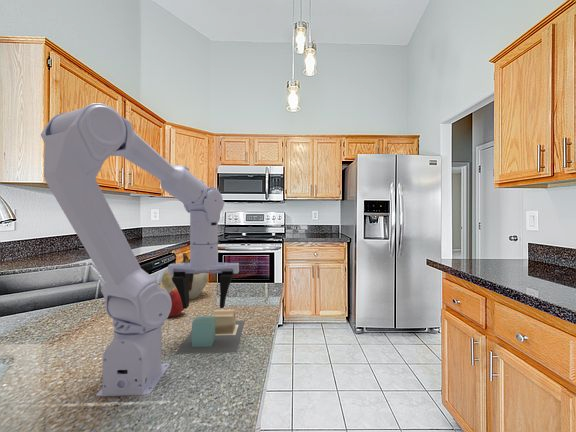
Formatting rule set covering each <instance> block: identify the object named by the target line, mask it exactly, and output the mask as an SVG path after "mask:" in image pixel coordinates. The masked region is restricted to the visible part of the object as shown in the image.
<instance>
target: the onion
mask: <svg viewBox="0 0 576 432" xmlns="http://www.w3.org/2000/svg"><path fill="white" fill-rule="evenodd" d="M169 295H170V297H171V301H172V306H171V311H170V314H169V316H168V317H171V318H172V317H173V318H175V317H178V316H179V315H180V314H182V312H183V311H184V310H185V309H183V305H182V301H181V298H180V295H179V292H178V291H177V288H173V290H172V291H171V292H170V293H169Z"/></svg>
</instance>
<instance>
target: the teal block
mask: <svg viewBox="0 0 576 432" xmlns="http://www.w3.org/2000/svg"><path fill="white" fill-rule="evenodd" d="M191 330H192V347H208V346H212V344H213V342H214V340H215V316H211V315H199V316H198V315H197V316H196V317H195V318H194V319H193V321H191Z"/></svg>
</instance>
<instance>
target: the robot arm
mask: <svg viewBox="0 0 576 432" xmlns="http://www.w3.org/2000/svg"><path fill="white" fill-rule="evenodd" d="M40 137H41V139H42V140H43V143H44V154H43V155H44V157H43V159H44V160H43V178H44V181H45V182H46V184H47V186H48V188H49V189H50V191H51V193H52V195H53V196H54V198H55V199H56V201H57V203H58V205H59V207H60V208H61V210H62V211H63V214H64V216H65V217H66V218H67V221H68V222H69V224H70V226H71V227H72V229H73V230H74V232H75V234H76V235H77V237H78V239H79V240H80V242H81V244H82V246H83V247H84V249H85V251H86V252H87V254H88V256H89V258H90V259H91V261H92V263H93V265H94V266H95V268H96V270H97V271H98V272H99V275H100V276H101V278H102V280H103V281H104V284H103V285H102V287H101V289H100V292H101V293H102V296H103V298H104V309H105V312H106V314H107V316H108V317H109V318H110V319H112V326H113V337H112V340H111V342H110V343H109V345H108V346H107V347H106V348H105V350H104V352H103V355H102V373H101V374H102V379H101V380H102V382H101V383H102V388H101V389H100V390H99V391H98V392H97V393H96V394H95V395H96V397H113V396H114V397H116V396H119V397H120V396H144V395H145V396H146V395H147V396H149V394H151V393H152V392H153V391H154V389H155V388H156V386H157V384H158V383H159V381H160V380H161V379H162V377H163V376H164V374H165V372H166V371H167V370H168V368H169V367H170V365H171V363H168V362H167V363H162V362H163V361H162V359H163V357H162V353H163V352H162V351H163V349H162V348H163V347H162V343H163V342H162V336H163V334H162V332H163V331H162V330H163V329H162V328H163V326H164V325H165V322H166V320H167V319H168V317H170V316H169V314H170V311H171V306H172V301H171V297H170V295H169V293H168V292H167V291H166V289H165V288H164V289H163V288H162V287H161V286H160V284H159V283H158V281H157V279H156V278H155V277H153V276H152V275H150V274H149V272H147V271H145V270H144V269H143V268H142V267H141V265H140V263H139V260H138V259H137V257H136V256H135V253H134V252H133V249H132V248H131V245H130V244H129V242H128V239H127V237H126V236H125V234H124V232H123V230H122V228H121V226H120V224H119V221H117V219H116V217H115V214H114V213H113V211H112V208H111V207H110V205H109V203H108V201H107V199H106V197H105V195H104V193H103V191H102V189H101V187H100V185H99V183H98V181H97V176H98V174H99V172H100V170H101V168H102V167H103V164H104V162H106V160H108V159H109V158H110V157H122V158H123V159H125V160H127V161H129V162H131V163H132V164H134V165H136V166H137V167H139V168H140V169H142V170H144V172H147V173H149V174H150V175H152V176H153V177H155V178H156V179H158V180H159V182H160V187H161V189H162V190H163V191H164V192H166V193H167V194H169V195H171V196H172V197H173V198H175V200H178V201H179V202H181V204H183V206H184V209H185V211H186V212H187V213H188V214H189V215H190V216H189V224H190V225H189V242H190V243H189V253H190V254H189V260H190V263H182V262H179V264H178V263H170V264H168V265H167V270H168V274H174V275H173V277H172V281H173V283H174V284H175V286H176V288H177V290H178V292H179V295H180V298H181V301H182V305H183V309H184V310H187V308H189V306H190V299H189V280H190V273H208V274H220V275H219V290H220V291H219V295H220V297H219V308H220V309H224V308H225V304H226V299H227V295H228V292H229V291H228V290H229V289H230V288H229V287H230V285H231V282H232V280H233V278H234V276H235V274H239V272H240V266H239V265H240V263H239V262H219V222H220V219H221V213H222V211H223V209H224V206H225V200H223V194H222V193H221V192H220V191H219V190H218V189H217V188H215V187H213V186H211V187H210V186H208V185H206V184H205V182H204V181H203V180H201V179H199V178H198V177H196V176H195V175H194V174H193V173H191V172H190V168H189V167H188V166H186V165H180V164H175V165H172V163H170V162H168V160H167V159H166V158H164V157H163V156H162V155H161V154H160V153H158V152H157V150H156V149H154V148H153V147H152V146H151V145H150V144H149V143H148V142H146V141H145V140H144V139H143V138H142V137H141V136H140V135H138V134H137V132H136V131H135V130H134V127H133V126H132V123H131V121H130V120H128V119H126V118H125V117H123V116H121V115H120V113H119V112H118V111H117V110H115V109H114V108H113V107H112V106H110V105H107V104H105V103H99V102H93V103H90V104H88V105H86V106H84V107H81V108H78V109H75V110H72V111H71V110H70V111H68V112H64V113H63V112H62V113H61V112H60V113H59V114H56V115H54V116H53V117H51V118H50V119H49V121H48V123H47V124H46V125H45V127H44V129H43V130H42V131H41V133H40ZM194 270H195V271H194Z"/></svg>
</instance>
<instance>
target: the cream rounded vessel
mask: <svg viewBox="0 0 576 432" xmlns="http://www.w3.org/2000/svg"><path fill="white" fill-rule="evenodd" d="M182 256H183V257H182V261H181V263H190V258H188V254H187V253H186V252H183V253H182ZM179 263H180V262H179ZM179 263H177V264H179ZM194 271H195V270H194ZM173 275H174V274H168V269H166V270H165V271H164V272H163V273H162V276H161V284H162V287H164V290H165V291H167V292H168V293H170V292H171V291H172V290H173V288H176V286H175V284H174V283H173V281H172V277H173ZM208 281H209V273H190V280H189V300H193V299H197V298H198V297H199V296H200V294H201V293H202V291H203V290H204V289H205V288H206V286H207V283H208ZM177 291H178V290H177Z"/></svg>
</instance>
